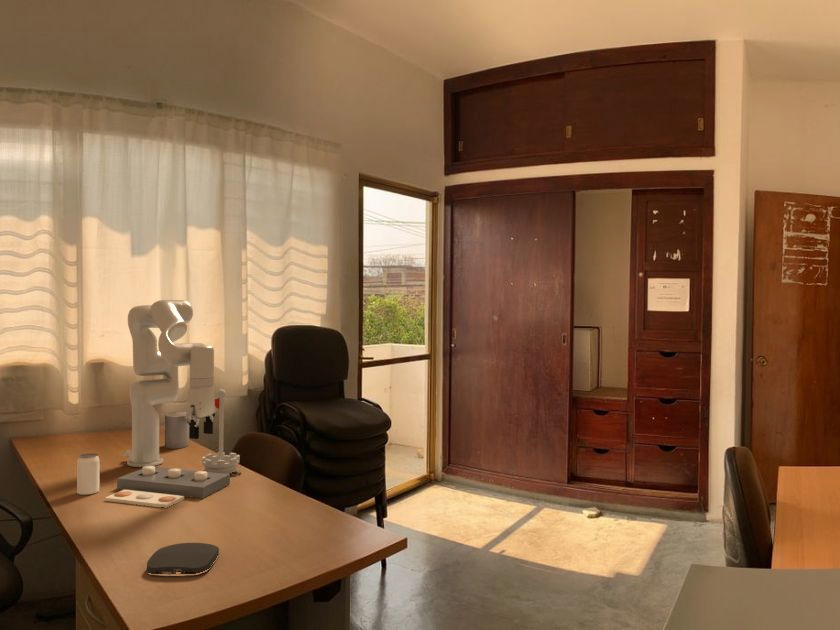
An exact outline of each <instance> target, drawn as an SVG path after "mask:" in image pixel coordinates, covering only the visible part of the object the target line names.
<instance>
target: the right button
mask: <svg viewBox="0 0 840 630" xmlns="http://www.w3.org/2000/svg"><path fill="white" fill-rule="evenodd" d="M197 471H198V472H195V475H194V481H201V482H204V481H206V480H207V472H206V471H205V470H197Z"/></svg>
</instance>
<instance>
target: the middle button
mask: <svg viewBox="0 0 840 630" xmlns="http://www.w3.org/2000/svg"><path fill="white" fill-rule="evenodd" d="M181 469H182V468H172V469H169V470H168V478H172V479H177V478H180V477H181Z"/></svg>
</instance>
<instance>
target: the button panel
mask: <svg viewBox="0 0 840 630" xmlns="http://www.w3.org/2000/svg"><path fill="white" fill-rule="evenodd" d="M169 469H173V468H169V467H158V466H155V475H152V476H143V475H142V468H140V469H139V470H136V471H133V472H130V473H127V474H125V475H122V476H120V477H117V479H116V489H117V490H134V491H143V492H152V493H161V494H170V495H179V496H184V497H188V498H194V497H195V498H196V499H205V498H207V497H209V496H210V494H211V495H212V494H214V493H216V492H218V491H220V490H222V489H224V488H226V487H227V485H228V486H230V485H231V474H222V473H212V472H207V480H206V481H204V482H201V481H194V475H195V472H198V471H199V470H191V469H182V468H180V469H181V477H180V478H177V479H172V478H168V470H169ZM229 484H230V485H229ZM225 486H226V487H225ZM223 487H224V488H223ZM221 488H222V489H221ZM219 489H220V490H219ZM217 490H218V491H217ZM215 491H216V492H215ZM208 495H209V496H208ZM206 496H207V497H206ZM204 497H205V498H204Z"/></svg>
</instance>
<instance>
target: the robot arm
mask: <svg viewBox="0 0 840 630" xmlns="http://www.w3.org/2000/svg"><path fill="white" fill-rule="evenodd" d="M193 310H194V309H193V307H192V305H191V304H190V302H189V301H187V300H182V299H160V300H157V301H154V302H153V303H152V304H145V305H143V304H142V305H136V306H134V307H132V308H131V309H130V310H129V311H128V314H127V326H128V329H129V333H130V336H131V340H132V364H133V372H134V374H135V375H136V376H139V377H154V376H162V378H157V379H155V378H152V379H142V380H138V381H134V382H133V383H132V384H131V385H130V387H129V392H128V394H129V399H130V404H131V450H126V451H125V452H124V454H123V457H125V458H129V459H128V460H127V462H126V463H127V464H126V465H127V466H129V467H132V468H143V467H145V466H155V467H157V466H159V465H161V464H163V463H164V458H163V457H161V456H160V415H159V413H158V411H157V410H156V409H155V407H154V406H155V405H163V404H170V403H174V402H175V401H177V399H178V397H179V391H180V390H179V384H180V383H179V367H183V366H184V367H185V366H189V387H188V391H187V396H186V397H187V398H186V408H185V412H186V416H185V418H186V420H187V423H188V426H189V440H190V439H191V440H198V439H199V438H200V426H199V422H200V420H201V419H203V418H204V421H203V434H206V435H212V434H214V421H215V415H216V412H217V409H218V408H216V407H215V399H216V398H215V389H214V388H215V387H214V385H215V384H214V383H215V382H214V381H215V348H214V346H212V345H208V344H204V343H202V342H187V343H174V342H176V341H178V340H180V339H182V338H183V337H184V336H185V334H186V333H187V330H188V325H187V324H188V323H190V322H191V321H192V319H193V315H194V311H193ZM151 329H159V330H160V331H161V333H160V335H159V337H158V340H157V337H156V335H155V333H154V332H153V331H152V330H151Z"/></svg>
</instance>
